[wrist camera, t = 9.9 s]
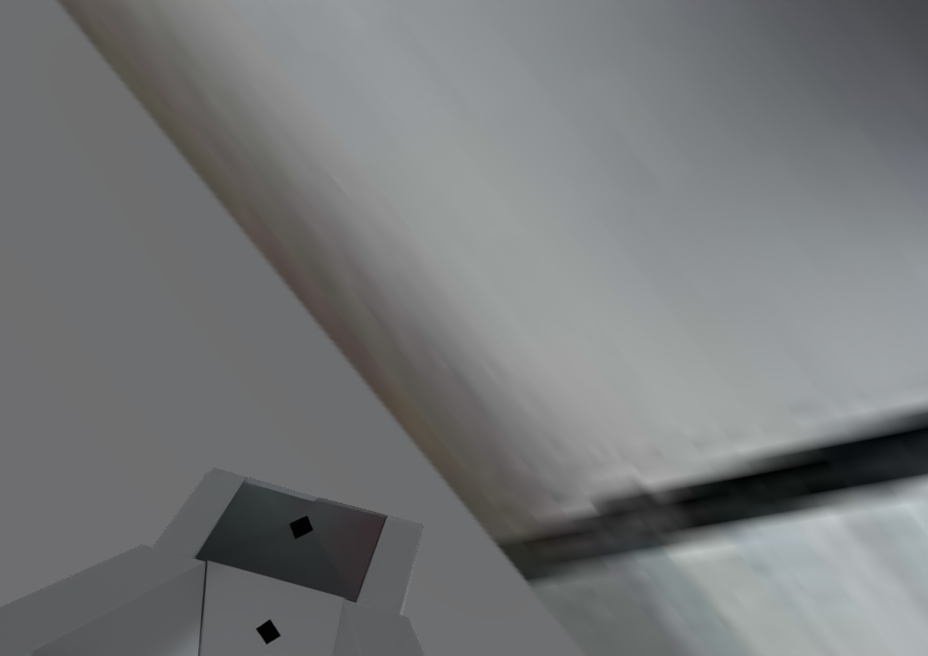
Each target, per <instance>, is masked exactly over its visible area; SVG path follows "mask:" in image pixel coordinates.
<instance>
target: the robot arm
mask: <svg viewBox="0 0 928 656" xmlns="http://www.w3.org/2000/svg"><path fill="white" fill-rule="evenodd" d="M423 528H424V526H423V524H422V523H419V522H415V521H411V520H407V519H403V518H399V517H395V516H391V515H385V514H381V513H377V512H373V511H370V510H366V509H362V508H358V507H354V506H350V505H346V504H343V503H339V502H335V501H331V500H328V499H323V498H320V497H319V498H318V497H316V496H312V495H309V494H306V493H302V492H299V491H295V490H292V489H289V488H285V487H282V486H278V485H275V484H272V483H268V482H265V481H261V480H258V479H255V478H251V477H249V478H248V477H245V476H241V475H238V474H235V473H232V472H228V471H225V470H222V469H219V468H213V469H211V470H210V471H208V472H207V473H206V474H205V475H204V476H203V478H202V479H201V480H200V482H199V483H198V485H197V486H196V487H195V489H194V490H193V491H192V493H191V494H190V496H189V497H188V498H187V500H186V501H185V502H184V504H183V505H182V507H181V508H180V509H179V511H178V512H177V514H176V515H175V516H174V518H173V519H172V521H171V522H170V523H169V525H168V526H167V527H166V529H165V530H164V532H163V533H162V534H161V536H160V537H159V539H158V540H157V541H156V543H155V544H154V545H153V547H150V546H146V545H142V544H141V545H139V546H137V547H135V548H132V549H130V550H128V551H125V552H123V553H121V554H119V555H116V556H114V557H112V558H110V559H108V560H105V561H103V562H101V563H98V564H96V565H94V566H92V567H89V568H87V569H85V570H83V571H80V572H78V573H76V574H74V575H71V576H69V577H67V578H65V579H62V580H60V581H58V582H56V583H54V584H51V585H49V586H47V587H45V588H42V589H40V590H38V591H35V592H33V593H31V594H29V595H27V596H24V597H22V598H20V599H17V600H16V601H13V602H11V603H9V604H6V605H4V606H2V607H0V656H425V654H424V651H423V649H422V647H421V644H420V642H419V639H418V637H417V634H416V632H415V630H414V627H413V625H412V622H411V620H410V618H409V617H405V616H402V612H403V608H404V604H405V600H406V597H407V592H408V589H409V584H410V581H411V577H412V573H413V569H414V564H415V561H416V556H417V552H418V549H419V545H420V540H421V537H422V532H423Z"/></svg>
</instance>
